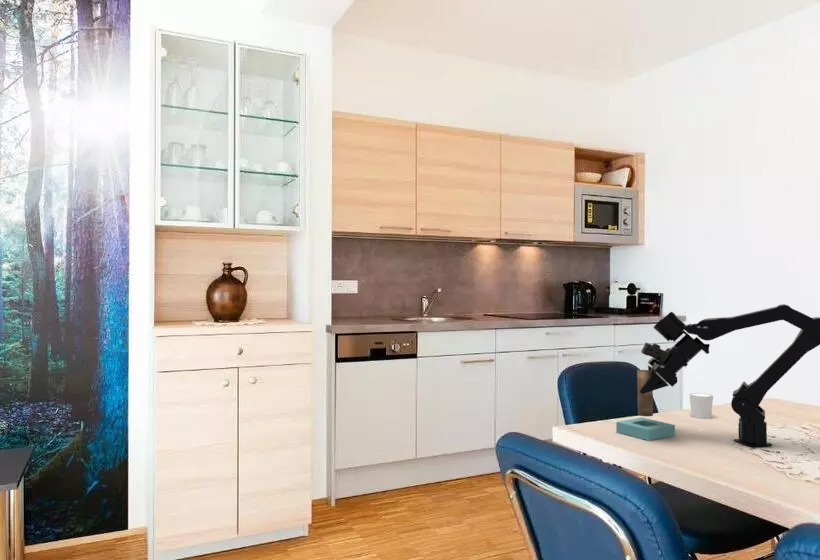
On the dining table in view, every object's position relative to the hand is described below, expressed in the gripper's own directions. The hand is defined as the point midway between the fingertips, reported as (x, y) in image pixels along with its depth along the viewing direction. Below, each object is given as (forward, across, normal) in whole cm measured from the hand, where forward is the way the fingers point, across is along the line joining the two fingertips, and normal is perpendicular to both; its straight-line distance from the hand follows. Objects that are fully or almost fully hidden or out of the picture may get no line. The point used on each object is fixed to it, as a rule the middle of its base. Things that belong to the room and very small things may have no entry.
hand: (639, 391), depth 171 cm
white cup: (-6, -28, +23) cm, 37 cm away
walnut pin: (+4, 0, +6) cm, 7 cm away
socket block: (+8, 0, +9) cm, 12 cm away
